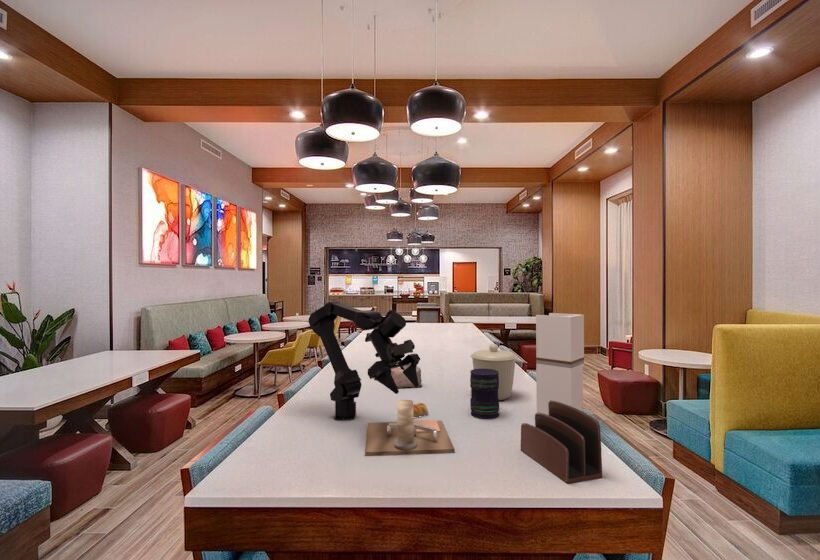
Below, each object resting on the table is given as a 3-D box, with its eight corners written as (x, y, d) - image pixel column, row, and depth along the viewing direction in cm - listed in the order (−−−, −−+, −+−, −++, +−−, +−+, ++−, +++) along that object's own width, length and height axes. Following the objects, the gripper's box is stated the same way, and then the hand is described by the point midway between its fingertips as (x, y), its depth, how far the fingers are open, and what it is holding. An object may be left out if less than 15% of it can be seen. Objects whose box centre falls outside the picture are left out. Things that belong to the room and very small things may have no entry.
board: (365, 455, 111) (365, 452, 111) (367, 425, 134) (367, 422, 134) (454, 452, 113) (454, 449, 113) (441, 423, 136) (441, 420, 136)
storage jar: (481, 421, 138) (481, 375, 138) (464, 413, 146) (464, 370, 146) (505, 416, 142) (505, 372, 142) (487, 408, 151) (487, 367, 151)
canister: (523, 395, 169) (523, 342, 169) (508, 406, 153) (507, 349, 153) (481, 389, 178) (481, 339, 178) (463, 399, 163) (463, 345, 163)
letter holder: (551, 446, 117) (551, 396, 117) (603, 478, 98) (602, 418, 98) (519, 451, 114) (519, 399, 114) (567, 484, 95) (566, 422, 95)
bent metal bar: (386, 436, 122) (386, 424, 122) (391, 432, 125) (390, 420, 125) (436, 442, 117) (436, 430, 117) (440, 438, 120) (439, 425, 120)
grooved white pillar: (584, 421, 136) (583, 314, 136) (571, 430, 129) (570, 316, 129) (550, 414, 144) (550, 312, 144) (536, 422, 136) (536, 314, 137)
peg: (394, 450, 112) (394, 405, 112) (393, 441, 118) (393, 399, 118) (418, 449, 112) (417, 405, 112) (416, 440, 119) (415, 398, 119)
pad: (407, 433, 124) (407, 431, 124) (405, 422, 134) (405, 420, 134) (440, 432, 125) (440, 430, 125) (436, 421, 135) (436, 419, 135)
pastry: (409, 421, 139) (409, 410, 139) (396, 416, 144) (396, 405, 144) (430, 415, 144) (430, 404, 145) (417, 411, 150) (417, 400, 150)
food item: (391, 389, 178) (390, 366, 178) (388, 385, 186) (388, 363, 186) (422, 388, 180) (422, 365, 180) (419, 383, 188) (418, 361, 188)
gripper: (377, 334, 120) (403, 382, 113) (418, 328, 134) (443, 370, 128) (356, 355, 125) (380, 402, 119) (398, 347, 140) (421, 388, 133)
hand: (407, 389), depth 125 cm, fingers open, 9 cm apart
